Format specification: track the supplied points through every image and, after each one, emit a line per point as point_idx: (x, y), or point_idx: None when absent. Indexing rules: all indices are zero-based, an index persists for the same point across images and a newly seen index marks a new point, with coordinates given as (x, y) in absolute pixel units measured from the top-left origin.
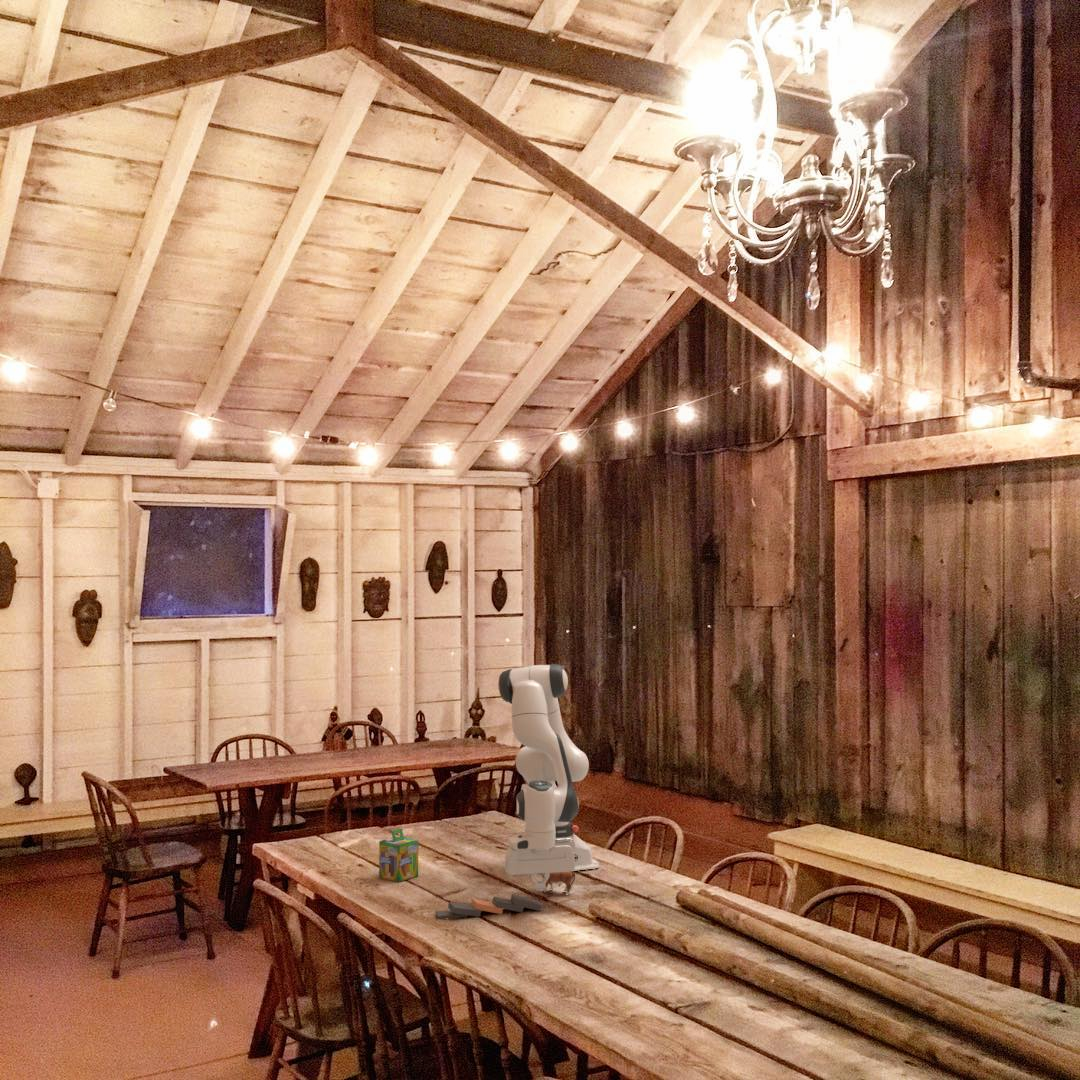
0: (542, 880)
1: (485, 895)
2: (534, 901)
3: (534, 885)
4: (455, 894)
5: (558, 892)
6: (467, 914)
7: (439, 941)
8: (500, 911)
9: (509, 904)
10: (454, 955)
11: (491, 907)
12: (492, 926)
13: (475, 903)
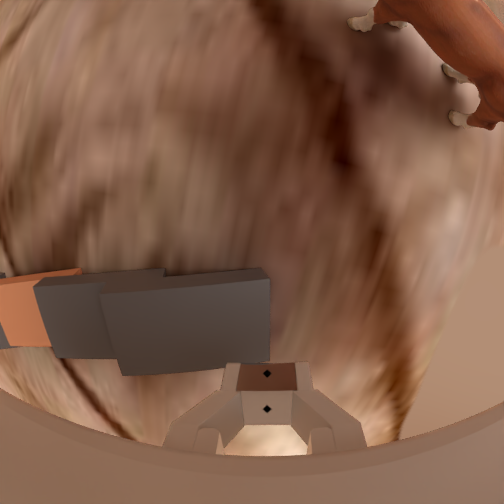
0: (297, 400)
1: (67, 58)
2: (237, 322)
3: (225, 376)
4: (4, 65)
5: (423, 59)
6: None
7: None
8: None
9: (107, 357)
10: None
11: None
12: (93, 415)
13: (8, 334)
